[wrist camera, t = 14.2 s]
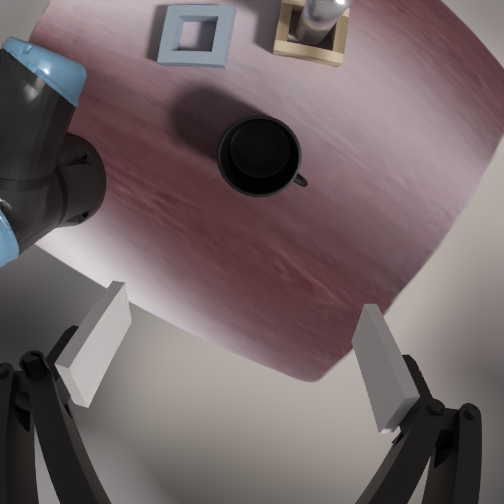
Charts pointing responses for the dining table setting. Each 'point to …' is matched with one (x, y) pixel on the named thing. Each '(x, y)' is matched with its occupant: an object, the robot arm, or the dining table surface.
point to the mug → (259, 156)
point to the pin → (319, 19)
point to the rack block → (333, 57)
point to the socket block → (196, 14)
